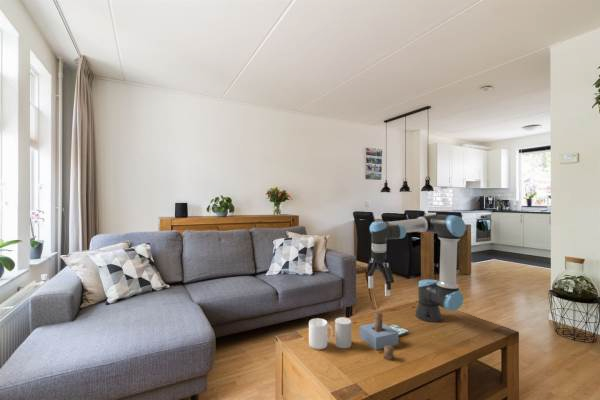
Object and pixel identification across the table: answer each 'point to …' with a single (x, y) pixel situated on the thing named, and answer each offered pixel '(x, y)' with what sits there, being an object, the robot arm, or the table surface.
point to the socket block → (379, 336)
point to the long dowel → (378, 322)
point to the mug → (319, 333)
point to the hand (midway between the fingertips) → (379, 291)
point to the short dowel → (388, 352)
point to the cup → (343, 332)
